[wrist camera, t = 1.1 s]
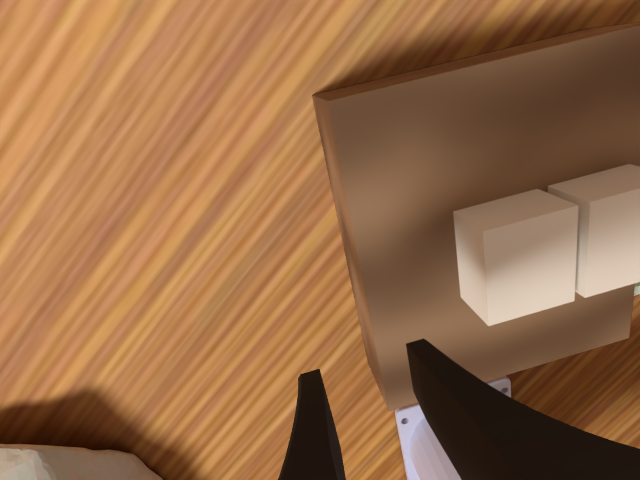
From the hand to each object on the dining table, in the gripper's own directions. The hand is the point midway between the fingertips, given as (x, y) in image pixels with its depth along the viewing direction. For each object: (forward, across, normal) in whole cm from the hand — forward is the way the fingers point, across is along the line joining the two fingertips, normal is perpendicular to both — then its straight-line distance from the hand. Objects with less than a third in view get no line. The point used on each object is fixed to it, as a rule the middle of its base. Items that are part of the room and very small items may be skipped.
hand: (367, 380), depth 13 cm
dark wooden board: (+10, -8, 0) cm, 13 cm away
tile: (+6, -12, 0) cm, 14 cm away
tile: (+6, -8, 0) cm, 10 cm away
